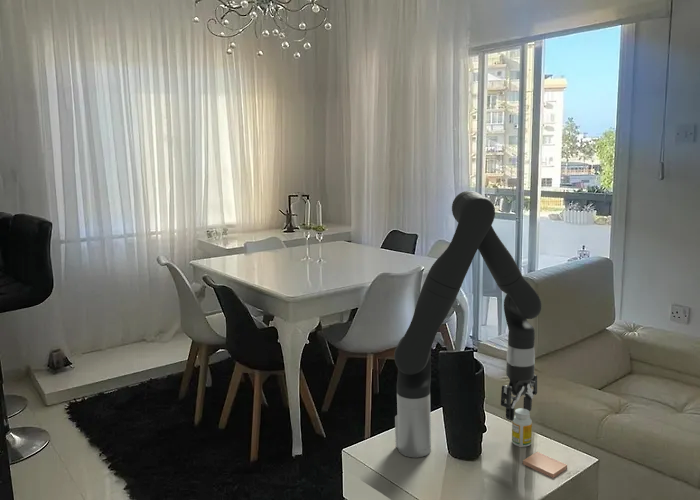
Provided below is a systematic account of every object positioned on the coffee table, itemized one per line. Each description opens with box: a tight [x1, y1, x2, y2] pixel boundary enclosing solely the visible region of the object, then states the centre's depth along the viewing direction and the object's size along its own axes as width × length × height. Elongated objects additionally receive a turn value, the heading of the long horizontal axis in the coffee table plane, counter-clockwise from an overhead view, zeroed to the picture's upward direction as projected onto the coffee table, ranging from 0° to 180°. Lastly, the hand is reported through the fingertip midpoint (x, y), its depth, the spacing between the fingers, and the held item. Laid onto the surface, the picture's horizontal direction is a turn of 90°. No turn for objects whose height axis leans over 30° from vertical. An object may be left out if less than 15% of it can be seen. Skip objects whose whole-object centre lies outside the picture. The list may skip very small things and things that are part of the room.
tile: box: [522, 451, 568, 479], centre depth 152 cm, size 2×6×9 cm
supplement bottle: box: [511, 407, 533, 448], centre depth 164 cm, size 5×5×10 cm
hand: (518, 414), depth 164 cm, fingers open, 8 cm apart
